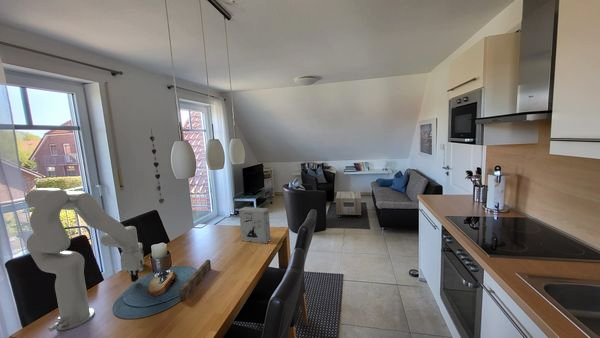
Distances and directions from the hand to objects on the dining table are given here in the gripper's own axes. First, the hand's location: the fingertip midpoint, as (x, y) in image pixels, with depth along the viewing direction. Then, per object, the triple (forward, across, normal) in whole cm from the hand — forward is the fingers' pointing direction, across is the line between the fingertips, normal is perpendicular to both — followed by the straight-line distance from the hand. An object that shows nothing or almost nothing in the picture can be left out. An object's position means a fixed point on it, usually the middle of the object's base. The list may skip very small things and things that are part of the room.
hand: (135, 280), depth 138 cm
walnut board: (+2, +36, 0) cm, 36 cm away
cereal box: (+3, +54, +57) cm, 78 cm away
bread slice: (+3, +16, 0) cm, 16 cm away
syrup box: (+2, -14, +20) cm, 24 cm away
